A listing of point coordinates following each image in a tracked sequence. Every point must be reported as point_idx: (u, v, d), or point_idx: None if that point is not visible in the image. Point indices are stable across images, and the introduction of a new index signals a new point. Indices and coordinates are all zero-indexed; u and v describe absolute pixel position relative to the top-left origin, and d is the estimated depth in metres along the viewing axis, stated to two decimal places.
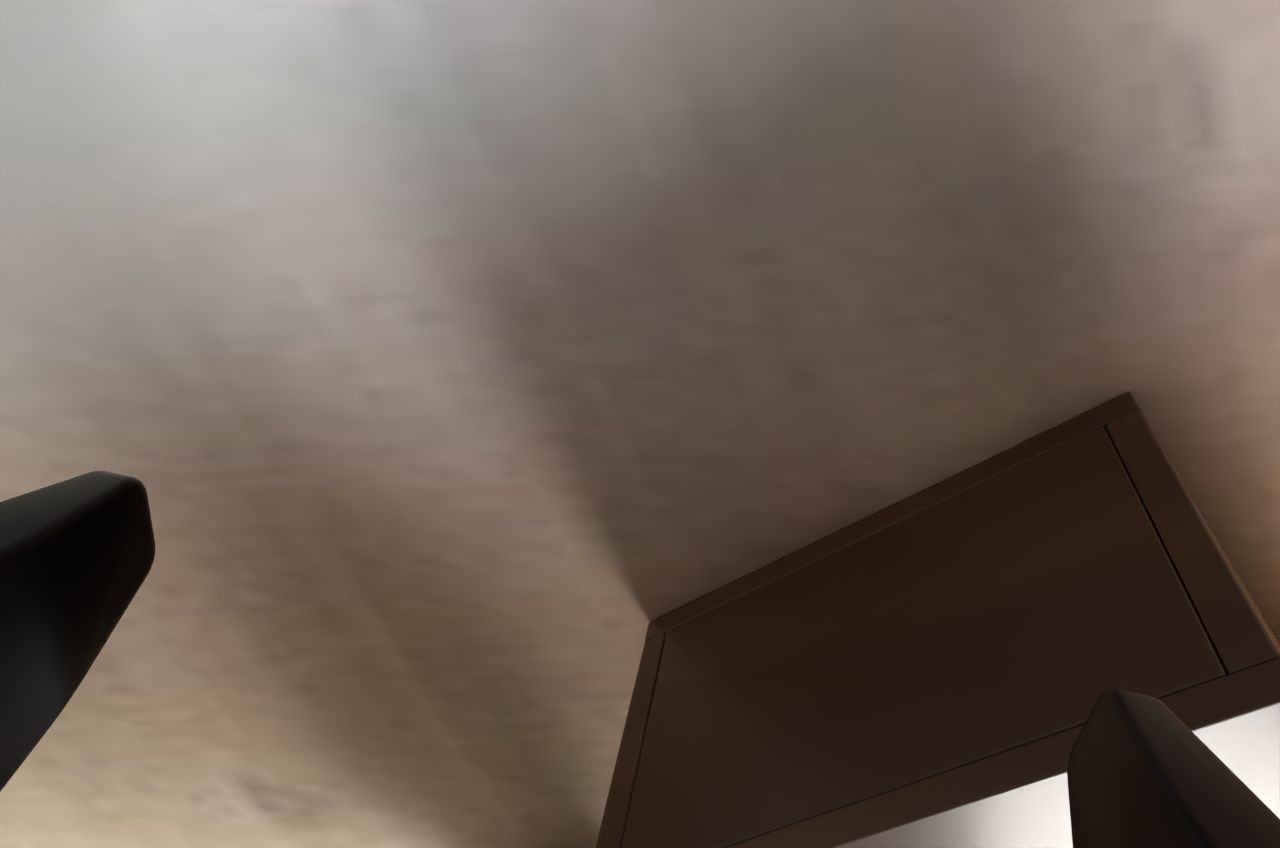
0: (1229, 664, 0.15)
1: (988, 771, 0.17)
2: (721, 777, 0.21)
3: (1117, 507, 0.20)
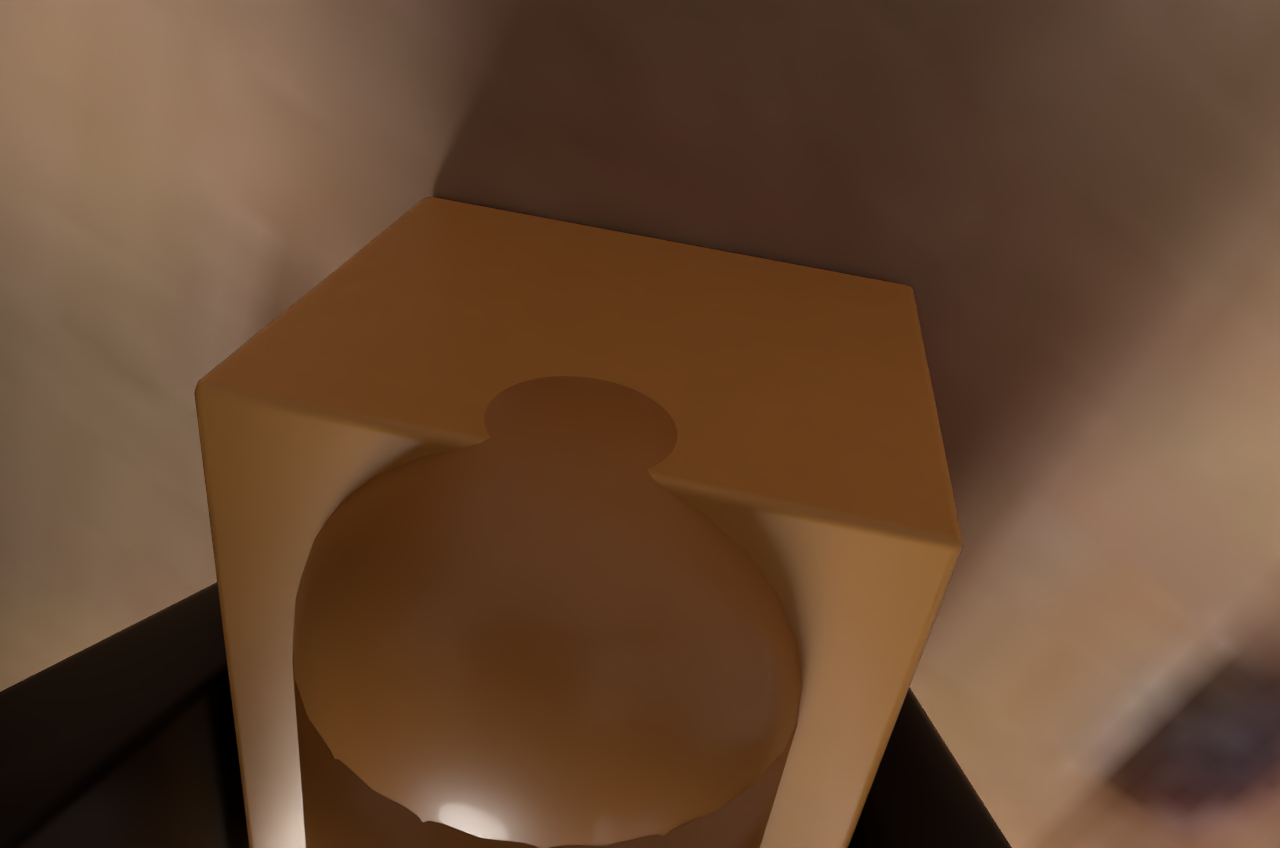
0: None
1: None
2: None
3: None
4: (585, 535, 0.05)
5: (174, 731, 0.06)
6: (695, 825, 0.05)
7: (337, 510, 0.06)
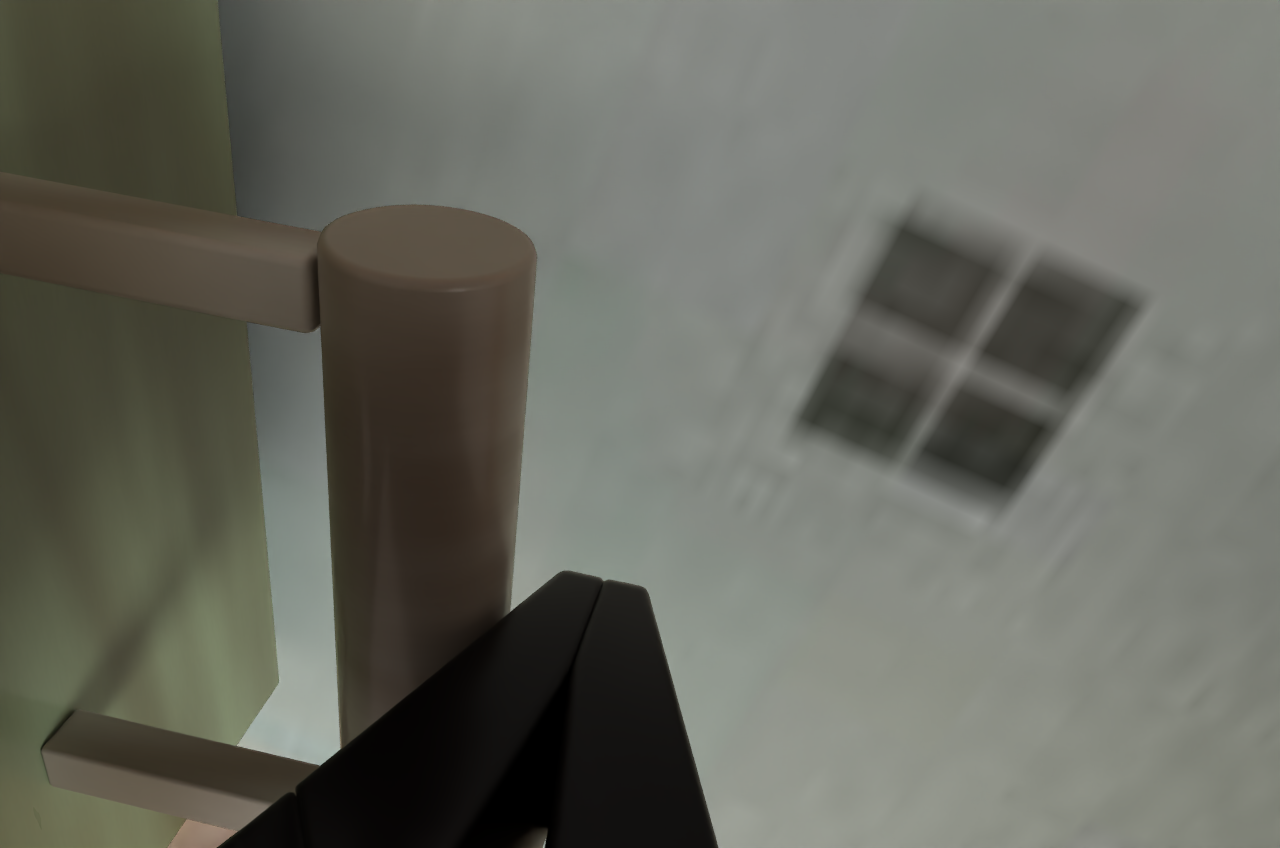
0: None
1: None
2: None
3: None
4: None
5: (492, 807, 0.06)
6: None
7: None
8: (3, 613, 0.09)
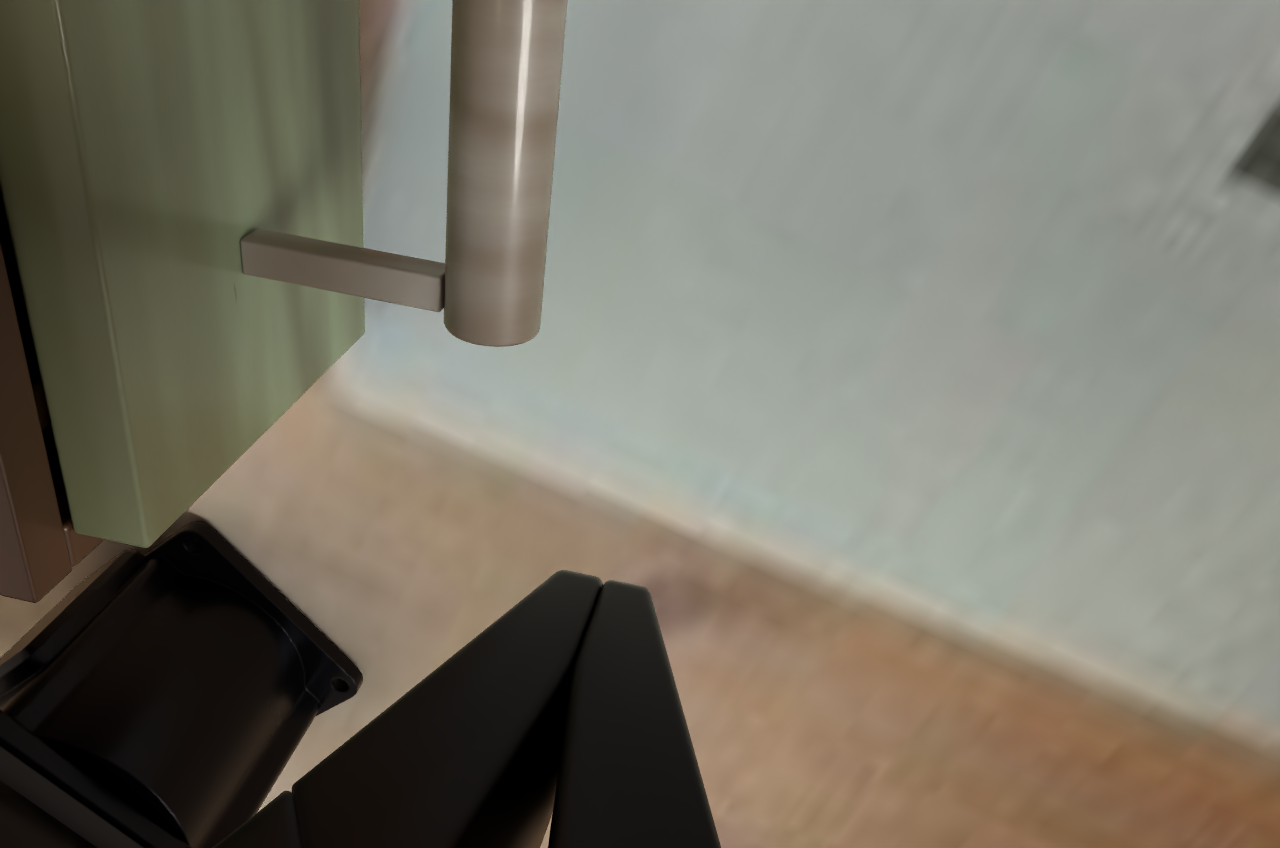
0: None
1: None
2: None
3: None
4: None
5: (489, 806, 0.06)
6: None
7: None
8: (229, 118, 0.14)
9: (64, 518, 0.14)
